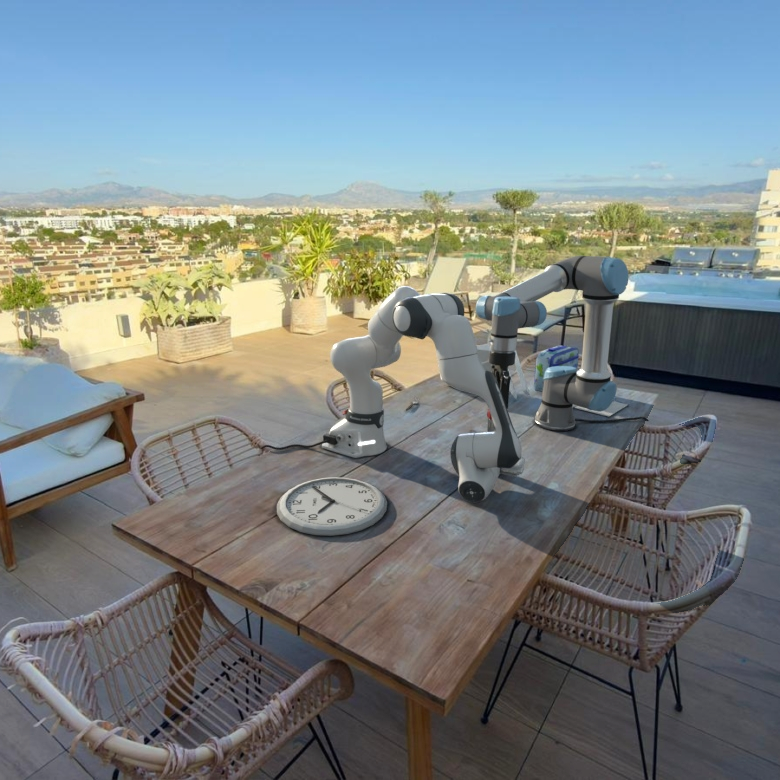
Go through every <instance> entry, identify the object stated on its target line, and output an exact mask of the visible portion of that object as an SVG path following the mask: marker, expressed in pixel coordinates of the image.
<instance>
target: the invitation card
mask: <svg viewBox="0 0 780 780" xmlns="http://www.w3.org/2000/svg"><path fill="white" fill-rule="evenodd" d="M628 406H629V404H627V403H623V402H618V401H614V400H613V401H612V403H611V404H610V406H609V407H608V408H607V409H605V410H604V411H601V412H598V411H594V410H589V409H587V408H583V407H580V406H577V405H575V406H574V407H573V409H575V410H581V411H584V412H587V413H593V414H596V415H600V416H604V417H608V418H609V417H611V416H613V415H614V414H616V413H617V412H619V411H621V410H623V409H624V408H626V407H628Z"/></svg>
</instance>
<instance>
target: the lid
mask: <svg viewBox="0 0 780 780" xmlns="http://www.w3.org/2000/svg"><path fill="white" fill-rule="evenodd" d="M486 417H487V419H488V418H489V419H492V417H491V414H490V411H489V408H488V409H487V412H486Z"/></svg>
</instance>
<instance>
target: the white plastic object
mask: <svg viewBox="0 0 780 780" xmlns="http://www.w3.org/2000/svg"><path fill="white" fill-rule="evenodd" d="M477 350H478V355H479V359H480V361H481V363H482V365H483V366H484V368H485V369H486V370H487V371H490V372H492V365H493V364H491V363H490V362H489V353H490V350H492V349H491V348H490V344H489V342H487V343H483V344H479V345H477ZM514 352H515V353H516V355H515V363H514V366H515V369H516V372H517V376H518V380H519V382H520V385H521V389H522V391H523V393H524V395H525V396H526V397H528V396H531V395H530V390H529V388H528V387H529V386H528V384H527V381H526V378H525V375H524V371H523V369H522V368H523V367H522V366H521V362H520V359H519V355H518V352H517V349H516V350H515V351H514ZM508 371H509V376H510V377H511V380H510V387H509V393H510V394H511V395H512V397H513V398H514V399H515V400H517V392H516V391H517V390H516V388H515V385H514V381H513V378H512V375H511V371H510V369H509V367H508ZM439 376H440V381H442V383H443V384H444V385H445V386H449V385H448V384H447V383H446V382H445V381H444V380H443V379H442V377H441V375H440V374H439Z"/></svg>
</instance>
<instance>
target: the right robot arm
mask: <svg viewBox="0 0 780 780" xmlns="http://www.w3.org/2000/svg"><path fill="white" fill-rule="evenodd" d="M628 269H629V268H628V266H627V264H626V263H625V261H623V260H622V259H621V258H618V257H611V256H593V255H575V256H571V257H567V258H564V259H561V260H559V261H557V262H555V263H552V264H550V265H549V266H547V267H546V268H545V269H544V271H542V272H541V273H539V274H537V275H534V276H533V277H531V278H528V279H526V280H524V281H522V282H520V283H518V284H516V285H514V286H512V287H510V288H508V289H507V290H504V291H502V292H499V293H498V294H496V295H493V296H492V295H482V296H480V297H479V298H478V299H477V301H476V304H475V313H476V315H477V317H478V318H480V319H482V320H486V321H490V322H491V332H490V339H488V343H490V344H489V345H490V348H491V349H492V350H490V353H489V362H490V363H491V364H493V365H492V373H493V375H494V376H495V378H496V380H497V382H498V385H499V387H500V390H501V393H502V396H503V398H504V401H505V404H506V407H507V410H508V409H509V402H510V401H509V400H510V390H509V387H510V380H511V378H512V376H511V377H510V376H509V371H510V370H509V371H508V368H509V367H510V366H511V367H512V366H513V365H514V366H515V355H516V353H515V352H514V351H515V350H516V351H517V345H518V331H519V330H520V329H525V328H535V327H537V326H540V325H542V324H543V323H544V322H545V321H546V319H547V315H548V311H547V310H548V309H547V307H546V305H545V304H544V303H543V302H542V301H539V300H540V299H542V298H544V297H547V296H548V295H549V294H552V293H560V292H562V291H565V290H575V291H576V290H577V291H582V296H581V298H582V299H583V300H584V301H585V317H584V329H583V342H582V352H581V353H582V354H581V364H580V365H581V366H580V368H579V369H578V367H577V368H575V367H572V366H554V367H550V368H547V369H546V371H545V374H544V378H543V379H544V382H543V391H542V392H541V393H542V394H541V402H540V405H539V407H538V410H537V411H536V413H535V417H534V424H535V425H536V426H537V427H539V428H542V429H544V430H549V431H556V432H567V431H572V430H574V429H575V428H576V422H583V423H596V424H597V423H598V424H601V423H616V422H624V421H636V420H644V421H646V422H650V421H649V419H648V418H647V417H645V416H635V417H625V418H616V419H600V420H598V419H597V420H596V419H595V420H593V419H582V418H575V417H576V416H575V413H574V407H573V405H574V406H580V407H583V408H587V409H589V410H594V411H598V412H601V411H604V410H605V409H607V408H608V407H609V406H610V404H611V403H612V401H614V400H615V398H616V394H617V389H618V387H617V384H616V382H614V381H613V380H611V379H612V378H611V377H612V374H611V372H610V371H609V370H608V363H609V354H610V353H609V352H610V340H611V330H612V321H613V311H614V303H615V302H616V301H618V300H619V299H620V295H622V294H623V293H624V292H625V291H626V290H627V286H628V284H629V270H628ZM494 428H495V426H494Z"/></svg>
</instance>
